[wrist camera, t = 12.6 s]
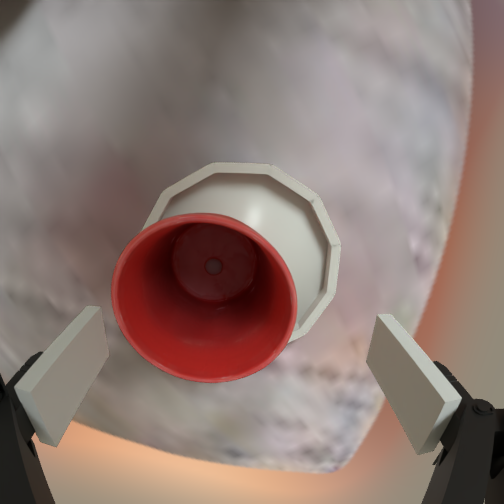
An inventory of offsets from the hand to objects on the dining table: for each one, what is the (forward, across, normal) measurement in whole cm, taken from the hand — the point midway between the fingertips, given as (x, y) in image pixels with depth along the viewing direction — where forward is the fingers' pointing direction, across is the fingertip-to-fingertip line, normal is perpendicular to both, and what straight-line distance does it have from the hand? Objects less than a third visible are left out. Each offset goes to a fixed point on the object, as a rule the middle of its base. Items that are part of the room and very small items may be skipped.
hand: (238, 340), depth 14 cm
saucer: (+14, 0, -1) cm, 14 cm away
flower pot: (+13, -2, 0) cm, 13 cm away
